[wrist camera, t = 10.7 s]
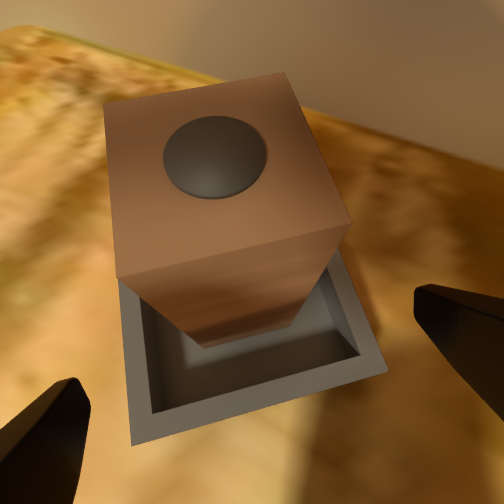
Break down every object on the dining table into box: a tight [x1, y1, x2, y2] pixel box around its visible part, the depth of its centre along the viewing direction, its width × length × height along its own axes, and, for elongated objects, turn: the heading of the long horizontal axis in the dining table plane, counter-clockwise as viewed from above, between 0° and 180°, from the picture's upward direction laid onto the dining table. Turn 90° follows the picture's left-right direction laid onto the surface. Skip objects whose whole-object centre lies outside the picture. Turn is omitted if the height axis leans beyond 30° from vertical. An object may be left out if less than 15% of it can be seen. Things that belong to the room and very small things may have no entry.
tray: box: [118, 248, 389, 446], centre depth 17 cm, size 12×12×3 cm
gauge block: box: [103, 72, 352, 349], centre depth 13 cm, size 5×5×12 cm
